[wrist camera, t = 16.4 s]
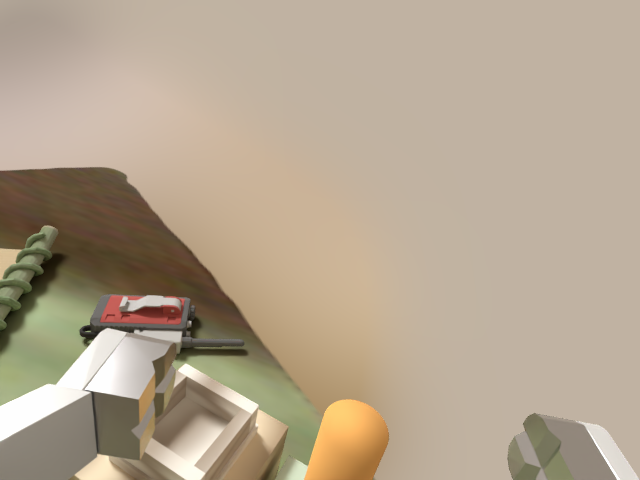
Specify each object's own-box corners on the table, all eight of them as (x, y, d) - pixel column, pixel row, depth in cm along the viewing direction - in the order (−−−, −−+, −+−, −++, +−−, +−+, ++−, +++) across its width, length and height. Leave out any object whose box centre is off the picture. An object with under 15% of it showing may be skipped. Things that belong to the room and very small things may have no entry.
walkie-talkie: (73, 355, 47) (243, 356, 52) (70, 326, 45) (246, 331, 50) (95, 308, 55) (242, 313, 60) (93, 281, 53) (245, 289, 58)
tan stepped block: (275, 479, 39) (295, 399, 34) (190, 620, 29) (199, 538, 24) (179, 419, 42) (183, 338, 37) (74, 526, 32) (59, 436, 27)
